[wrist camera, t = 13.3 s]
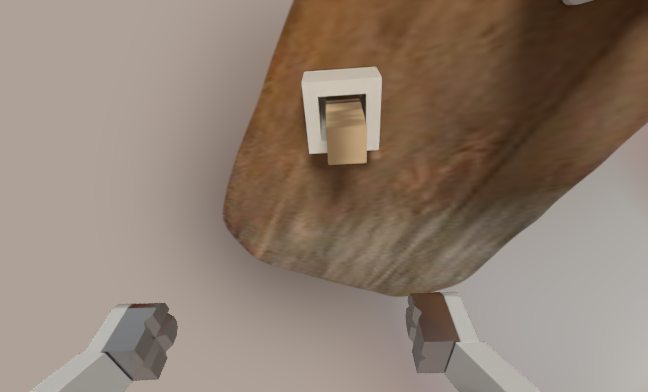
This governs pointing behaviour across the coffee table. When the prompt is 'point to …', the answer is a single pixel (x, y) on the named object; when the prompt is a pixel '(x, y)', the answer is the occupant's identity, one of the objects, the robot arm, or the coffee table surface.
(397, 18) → the coffee table surface
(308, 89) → the socket board
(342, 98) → the oak peg
